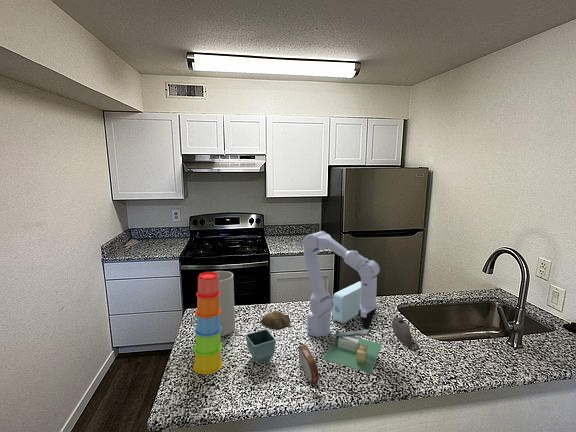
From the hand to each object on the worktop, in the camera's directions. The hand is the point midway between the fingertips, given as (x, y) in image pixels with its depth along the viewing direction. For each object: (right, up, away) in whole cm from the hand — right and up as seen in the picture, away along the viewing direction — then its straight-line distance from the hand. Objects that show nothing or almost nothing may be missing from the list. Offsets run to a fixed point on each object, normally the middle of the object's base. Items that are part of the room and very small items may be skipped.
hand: (367, 326), depth 118 cm
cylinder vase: (-60, -8, +18) cm, 63 cm away
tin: (-24, -13, -11) cm, 29 cm away
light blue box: (+1, -6, +32) cm, 33 cm away
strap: (-5, -5, +3) cm, 8 cm away
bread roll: (-35, -7, +25) cm, 44 cm away
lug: (-3, -10, -5) cm, 12 cm away
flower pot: (-41, -11, -2) cm, 42 cm away
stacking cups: (-59, -12, -6) cm, 61 cm away
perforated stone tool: (+17, -9, +10) cm, 22 cm away
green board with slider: (-5, -10, +1) cm, 12 cm away
